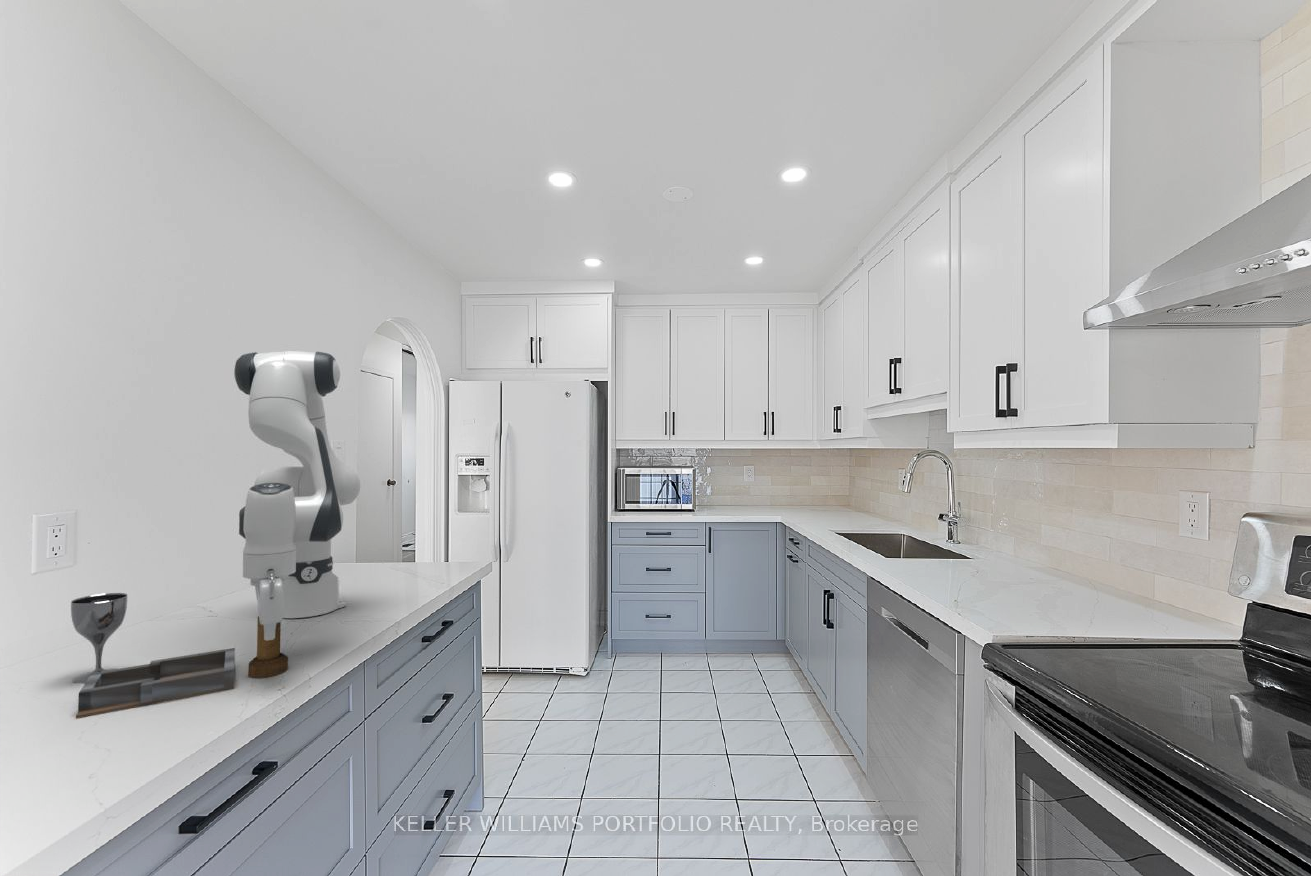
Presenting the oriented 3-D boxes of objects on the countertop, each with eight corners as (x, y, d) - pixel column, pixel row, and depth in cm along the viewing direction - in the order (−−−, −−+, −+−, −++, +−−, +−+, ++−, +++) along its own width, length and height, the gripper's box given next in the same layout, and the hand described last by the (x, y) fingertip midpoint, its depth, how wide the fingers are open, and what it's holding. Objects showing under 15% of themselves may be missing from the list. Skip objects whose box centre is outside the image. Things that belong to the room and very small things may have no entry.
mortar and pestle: (267, 679, 112) (269, 585, 112) (239, 676, 113) (241, 583, 114) (295, 666, 119) (297, 577, 119) (268, 664, 120) (270, 576, 120)
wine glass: (59, 686, 108) (61, 605, 108) (82, 671, 116) (84, 595, 116) (114, 680, 111) (116, 601, 111) (133, 665, 119) (134, 591, 119)
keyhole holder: (93, 689, 107) (93, 670, 107) (234, 664, 119) (234, 647, 119) (75, 718, 96) (76, 697, 96) (233, 688, 108) (234, 669, 108)
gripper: (292, 573, 110) (291, 647, 109) (285, 556, 126) (284, 620, 126) (251, 577, 106) (250, 654, 106) (249, 559, 123) (248, 625, 122)
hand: (268, 635), depth 116 cm, fingers closed on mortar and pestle, 4 cm apart
